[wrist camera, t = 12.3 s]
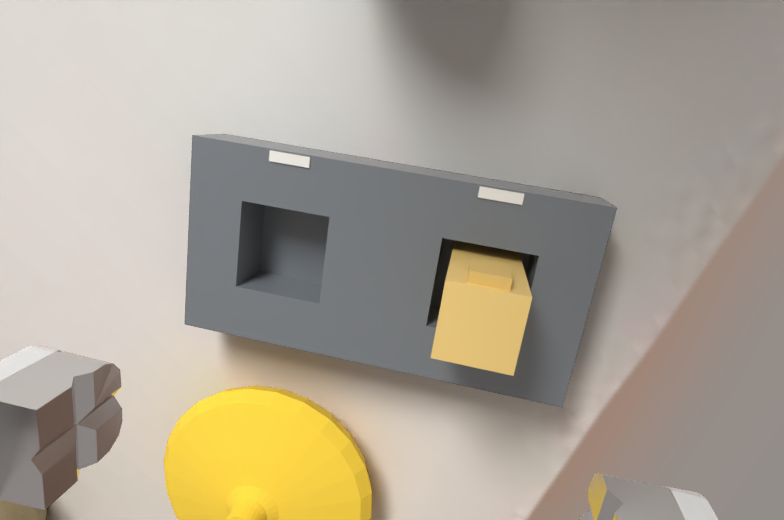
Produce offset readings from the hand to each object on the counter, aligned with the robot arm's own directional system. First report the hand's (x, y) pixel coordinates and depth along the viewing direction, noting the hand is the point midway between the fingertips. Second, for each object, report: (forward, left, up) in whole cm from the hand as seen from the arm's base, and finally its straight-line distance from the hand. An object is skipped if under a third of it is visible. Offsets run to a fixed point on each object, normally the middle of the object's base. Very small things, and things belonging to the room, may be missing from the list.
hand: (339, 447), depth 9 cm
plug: (+4, +3, -25) cm, 25 cm away
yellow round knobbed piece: (+22, -9, -25) cm, 35 cm away
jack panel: (+4, -3, -25) cm, 25 cm away
